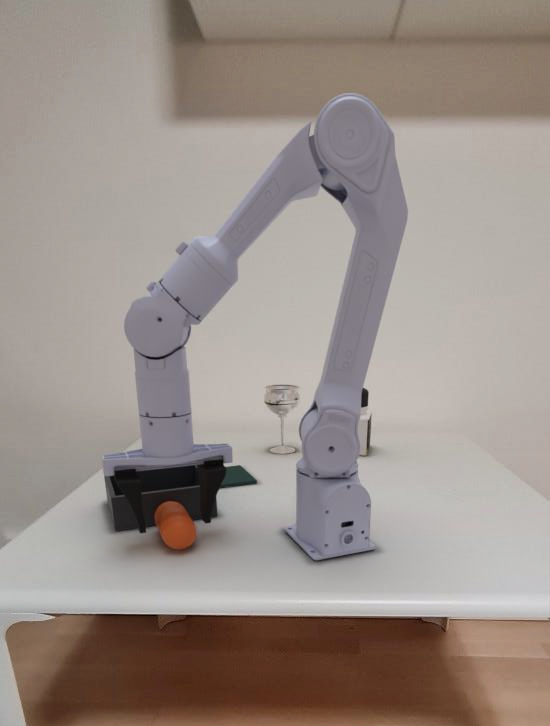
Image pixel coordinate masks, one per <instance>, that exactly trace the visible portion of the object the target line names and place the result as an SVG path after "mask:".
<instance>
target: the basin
mask: <svg viewBox="0 0 550 726" xmlns="http://www.w3.org/2000/svg"><path fill="white" fill-rule="evenodd" d="M137 474H138V476H139V480H140V483H141V496H142V508H143V514H144V519H145V525H146V528H148V527H154V526H157V525H156V523H155V512H156V510H157V508H158V507H159V506H160V505H161V504H163V503H165V502H168V501H173V502H177V503H179V504H181V505H182V506H183V507H184V508H185V509H186V511H187V513H188V514H189V516H190V518H191V519H192V521H194V520H202V518H201V511H200V484H199V476H198V469H197V465H190V466H181V467H172V468H163V469H153V470H144V471H137ZM103 478H104V486H105V493H106V501H107V506H108V509H109V513H110V518H111V521H112V524H113V528H114V531H115V532H120V531H128V530H133V529H138V526H137V521H136V517H135V514H134V512H133V510H132V508H131V506H130V504H129V502H128V500H127V499H126V497H125V495H124V494H123V492H122V491H121V489H120V488H119V486H118V484H117V482H116V479H115V476H106V477H105V476H104V475H103ZM217 499H218V498H217V497H216V498H215V502H214V505H213V510H212V515H211V518H214V517H218V501H217Z"/></svg>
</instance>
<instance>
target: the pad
mask: <svg viewBox="0 0 550 726" xmlns="http://www.w3.org/2000/svg"><path fill="white" fill-rule="evenodd" d="M225 467H226V476H225V478H224V480H223V482H222V484H221V486H220V488H219V489H223V488H229V487H230V488H232V487H237V486H246V485H253V484H258V480H257V478H255V477H254V476H253V475H252V474H251V473H250V472H248V471H247V470H246V469H245V468H244V467H243V466H242V465H240V464H239V465H238V464H237V465H230V466H225Z"/></svg>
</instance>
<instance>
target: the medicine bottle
mask: <svg viewBox="0 0 550 726" xmlns="http://www.w3.org/2000/svg"><path fill="white" fill-rule="evenodd" d="M369 393H370V392H369V390H368V389H367V388H365V387H363V389H362V394H361V415H360V419H359V423H358V436H359V441H360V453H359V456H363V457H364V456H367V455H368V453H369V450H370V447H371V432H372V415H373V414H372V411H371V410H368V409H369Z"/></svg>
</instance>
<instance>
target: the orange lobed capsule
mask: <svg viewBox="0 0 550 726" xmlns="http://www.w3.org/2000/svg"><path fill="white" fill-rule="evenodd" d="M155 523H156V525H155V526H156V527H157V529H158V532H159V534H160V537H161V538H162V540H163V542H164V544H165V545H166V546H167V547H169V548H171V549H173V550H178V551H181V550H185V549H187V548H189V547H190V546H191V545H193V544H194V542H195V540H196V539H197V531H198V530H197V526H196V524H195V522H194V520H192V519H191V518H190V516H189V514H188V513H187V511H186V509H185V508H184V507H183V506H182V505H181V504H179V503H177V502H173V501H168V502H165V503H163V504H161V505H160V506H159V507H158V508H157V510H156V512H155Z"/></svg>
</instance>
